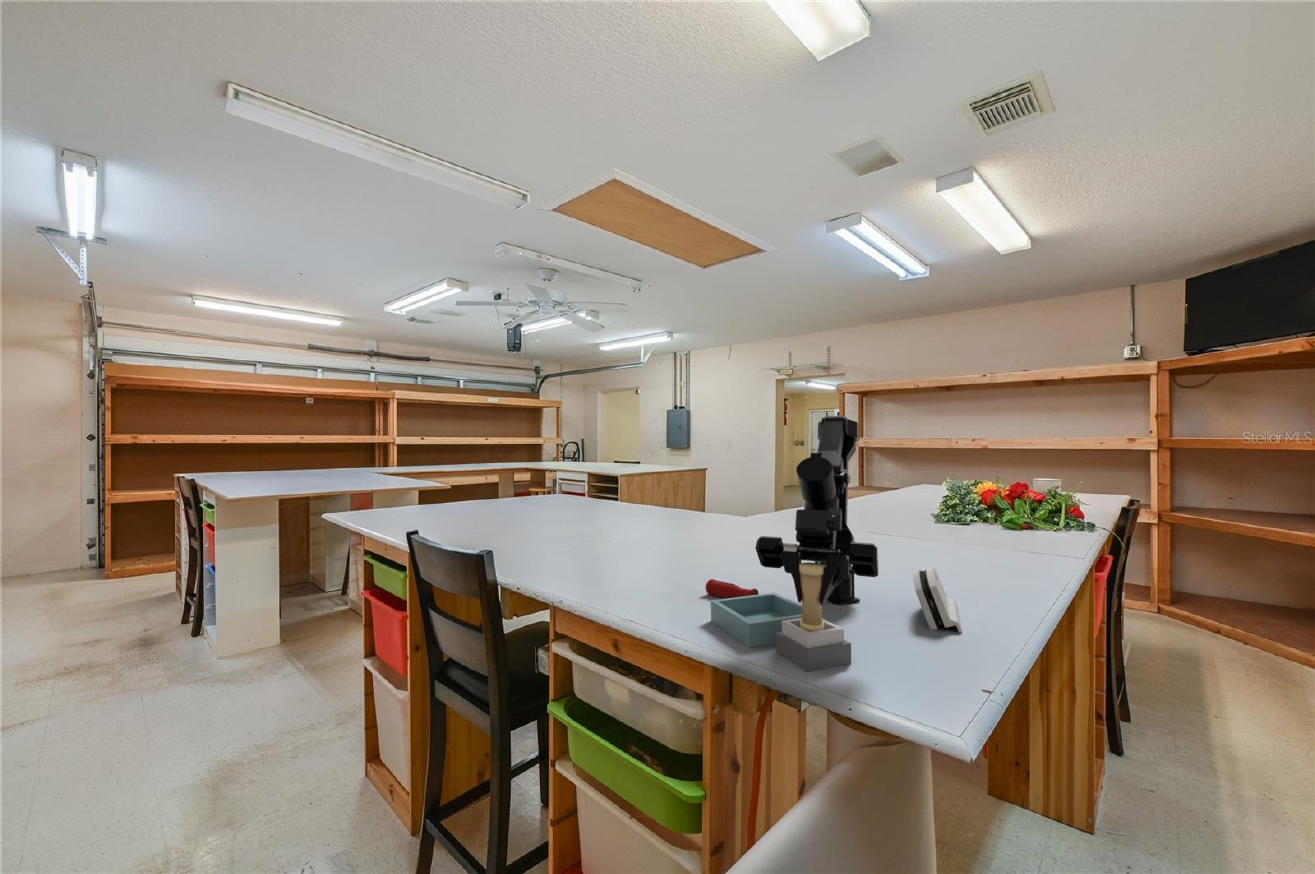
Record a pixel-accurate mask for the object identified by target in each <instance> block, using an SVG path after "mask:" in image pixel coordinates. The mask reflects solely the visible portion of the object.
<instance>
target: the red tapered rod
mask: <svg viewBox="0 0 1315 874" xmlns="http://www.w3.org/2000/svg"><path fill="white" fill-rule="evenodd" d="M705 591H706V593H707V594H708V596H714V597H720V598H722V597H723V598H722V599H727V598H735V597H744V596H752V595H760V594H759V591H758V589H757V588H751V589H747V588H743V587H741V586H739V585H737V584H734V583H730V582H725V581H721V580H716V579H713V578H711V579H709V580H708V581H707V582H706V583H705Z"/></svg>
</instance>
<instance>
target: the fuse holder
mask: <svg viewBox="0 0 1315 874" xmlns="http://www.w3.org/2000/svg"><path fill="white" fill-rule="evenodd" d="M801 619H802V618H797V619H791V620H784V621H782V632H776V643H775V652H776V653H777V654H779V655H781V656H782V657H783V658H786V659H787V660H788V661H789V662H791V663H793V664H794V665H796V666H797V667H799V668H800V669H802V670H804V671H805V672H812V671H818V670H822V669H830V668H833V667H838V666H844V665H849V664H852V643H851V642H850V641H847V640H846V639H845V629H844V628H843V627H841V626H839V625H836V624H835V623H832V622H830V621H828V620H827V619H824V618H822V621H823V622H824V630H819V631H813V632H807V631H806V630H804V629H802V628H800V620H801Z"/></svg>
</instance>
